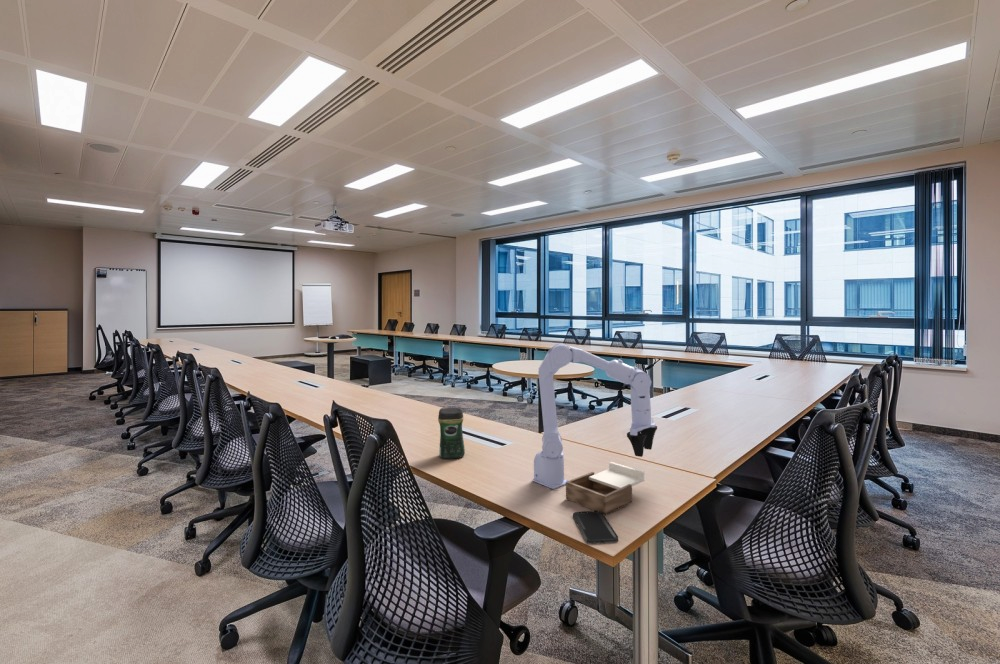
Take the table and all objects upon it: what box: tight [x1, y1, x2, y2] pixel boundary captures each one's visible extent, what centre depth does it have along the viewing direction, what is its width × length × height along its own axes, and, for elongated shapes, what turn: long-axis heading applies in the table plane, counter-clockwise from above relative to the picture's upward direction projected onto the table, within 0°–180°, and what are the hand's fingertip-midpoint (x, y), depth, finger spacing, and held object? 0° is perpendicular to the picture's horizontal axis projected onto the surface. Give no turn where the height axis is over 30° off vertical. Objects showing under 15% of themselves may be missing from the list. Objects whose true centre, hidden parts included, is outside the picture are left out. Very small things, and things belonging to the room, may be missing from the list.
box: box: [565, 471, 633, 516], centre depth 127 cm, size 14×12×5 cm
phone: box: [572, 510, 619, 545], centre depth 111 cm, size 8×1×15 cm
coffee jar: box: [437, 407, 466, 460], centre depth 169 cm, size 10×8×19 cm
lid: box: [589, 461, 645, 489], centre depth 132 cm, size 12×11×3 cm
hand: (643, 452), depth 138 cm, fingers open, 7 cm apart
